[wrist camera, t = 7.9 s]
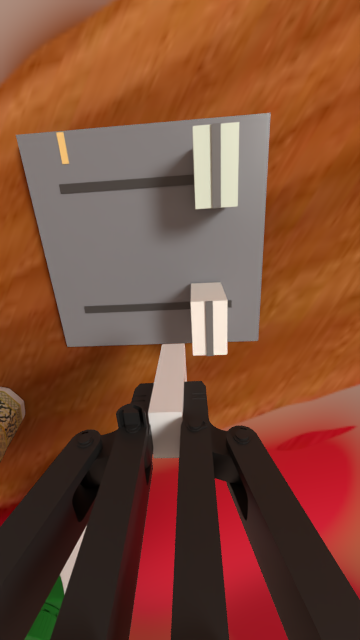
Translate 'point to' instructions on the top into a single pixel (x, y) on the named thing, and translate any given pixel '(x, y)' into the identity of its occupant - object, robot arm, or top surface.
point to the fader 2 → (209, 319)
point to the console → (145, 229)
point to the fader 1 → (216, 165)
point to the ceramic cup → (9, 417)
